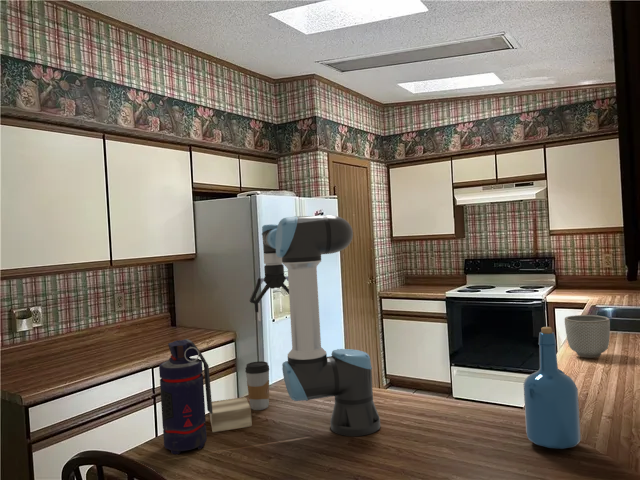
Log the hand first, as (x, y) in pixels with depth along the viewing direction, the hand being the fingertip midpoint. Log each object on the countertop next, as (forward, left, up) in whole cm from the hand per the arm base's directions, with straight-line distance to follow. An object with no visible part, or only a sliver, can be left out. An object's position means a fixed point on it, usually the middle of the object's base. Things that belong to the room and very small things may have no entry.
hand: (277, 318), depth 199 cm
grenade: (-44, +35, -27) cm, 63 cm away
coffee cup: (-19, +11, -27) cm, 35 cm away
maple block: (-30, +22, -27) cm, 46 cm away
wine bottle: (-81, -58, -27) cm, 103 cm away
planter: (-13, -132, -27) cm, 135 cm away
